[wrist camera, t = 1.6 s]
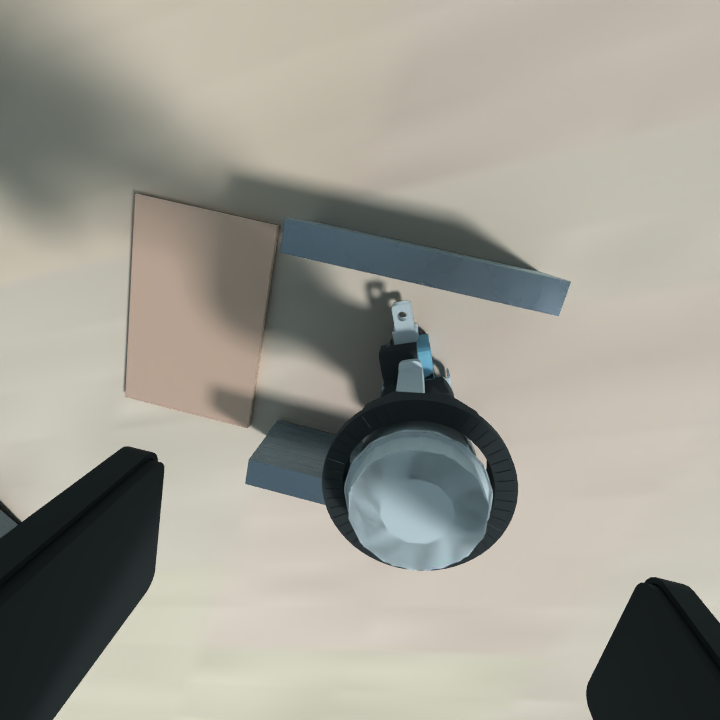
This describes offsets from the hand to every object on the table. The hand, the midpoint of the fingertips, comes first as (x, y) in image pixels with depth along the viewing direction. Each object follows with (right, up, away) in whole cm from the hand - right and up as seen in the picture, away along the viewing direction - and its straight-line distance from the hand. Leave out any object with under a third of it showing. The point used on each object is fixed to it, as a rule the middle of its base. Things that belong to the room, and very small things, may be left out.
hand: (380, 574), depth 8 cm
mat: (-8, +6, +12) cm, 16 cm away
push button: (+2, +4, +12) cm, 13 cm away
